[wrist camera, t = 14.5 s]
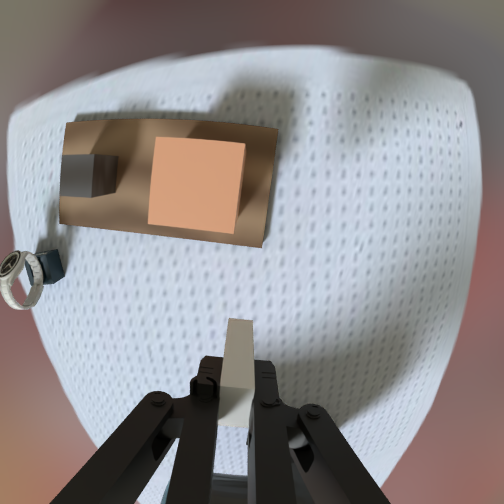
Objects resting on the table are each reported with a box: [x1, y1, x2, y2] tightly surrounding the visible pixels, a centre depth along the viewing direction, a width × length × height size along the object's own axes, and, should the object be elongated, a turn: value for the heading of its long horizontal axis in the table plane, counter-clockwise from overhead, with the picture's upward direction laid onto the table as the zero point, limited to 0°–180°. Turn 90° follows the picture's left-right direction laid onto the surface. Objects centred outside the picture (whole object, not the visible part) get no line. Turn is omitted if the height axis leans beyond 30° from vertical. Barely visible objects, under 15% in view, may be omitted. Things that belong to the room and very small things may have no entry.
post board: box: [59, 119, 278, 248], centre depth 29 cm, size 14×28×8 cm, turn 83°
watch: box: [0, 249, 65, 309], centre depth 30 cm, size 6×8×11 cm
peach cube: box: [148, 137, 246, 234], centre depth 27 cm, size 8×8×9 cm
